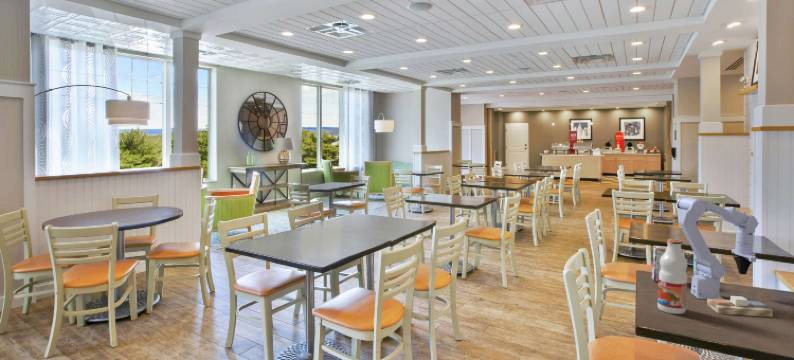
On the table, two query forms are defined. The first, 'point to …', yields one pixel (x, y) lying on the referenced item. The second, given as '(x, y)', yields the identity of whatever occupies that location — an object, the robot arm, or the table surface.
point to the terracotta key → (721, 302)
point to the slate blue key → (756, 304)
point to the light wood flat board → (740, 309)
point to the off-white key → (739, 301)
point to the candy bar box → (657, 261)
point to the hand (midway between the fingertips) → (742, 273)
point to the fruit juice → (672, 279)
